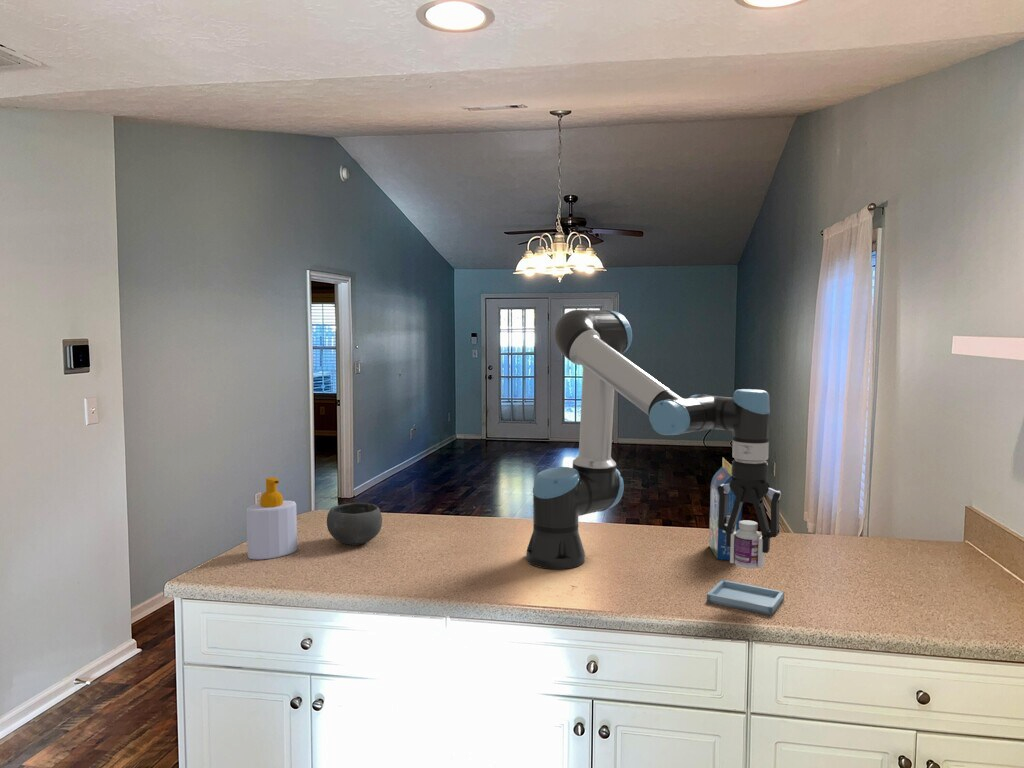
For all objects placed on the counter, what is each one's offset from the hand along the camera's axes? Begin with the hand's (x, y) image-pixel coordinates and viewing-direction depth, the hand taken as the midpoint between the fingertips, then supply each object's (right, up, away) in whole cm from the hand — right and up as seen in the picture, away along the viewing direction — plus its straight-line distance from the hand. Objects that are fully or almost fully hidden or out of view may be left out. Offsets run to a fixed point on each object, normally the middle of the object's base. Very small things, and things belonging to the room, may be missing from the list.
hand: (747, 563), depth 162 cm
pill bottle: (0, -1, 0) cm, 0 cm away
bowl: (-96, -5, +42) cm, 105 cm away
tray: (0, -8, +1) cm, 8 cm away
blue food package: (+5, -6, +34) cm, 35 cm away
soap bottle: (-115, -5, +32) cm, 120 cm away
